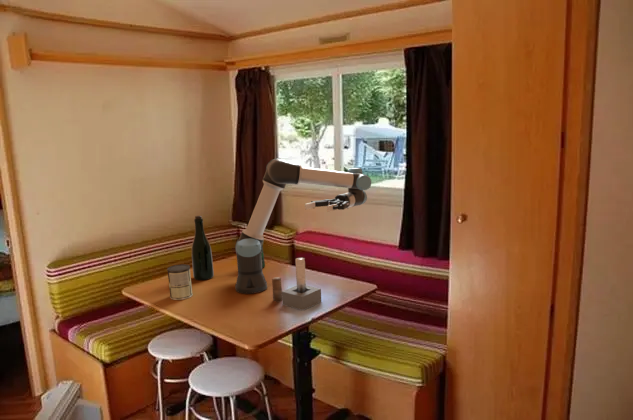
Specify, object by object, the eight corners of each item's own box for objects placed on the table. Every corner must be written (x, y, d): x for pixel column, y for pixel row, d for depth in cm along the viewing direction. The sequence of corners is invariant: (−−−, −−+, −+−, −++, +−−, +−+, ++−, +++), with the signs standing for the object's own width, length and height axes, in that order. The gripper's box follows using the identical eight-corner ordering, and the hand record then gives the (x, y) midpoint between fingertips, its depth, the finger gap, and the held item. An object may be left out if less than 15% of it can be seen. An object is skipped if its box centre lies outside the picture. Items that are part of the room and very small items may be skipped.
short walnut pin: (271, 300, 223) (270, 279, 221) (277, 297, 226) (276, 276, 224) (277, 302, 221) (276, 280, 219) (284, 299, 224) (282, 278, 222)
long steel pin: (295, 303, 218) (293, 259, 214) (301, 301, 221) (299, 257, 217) (302, 305, 215) (300, 260, 212) (308, 302, 218) (306, 258, 215)
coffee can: (166, 297, 235) (163, 268, 232) (185, 291, 242) (182, 263, 239) (177, 301, 227) (174, 272, 225) (196, 295, 234) (194, 266, 232)
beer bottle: (204, 273, 269) (199, 213, 263) (218, 276, 263) (212, 214, 257) (189, 279, 261) (183, 217, 255) (202, 281, 255) (197, 218, 249)
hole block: (282, 304, 217) (281, 291, 216) (301, 296, 226) (300, 284, 225) (303, 310, 209) (302, 296, 208) (321, 301, 218) (320, 288, 217)
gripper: (364, 210, 242) (337, 218, 226) (325, 206, 258) (297, 213, 243) (364, 195, 241) (337, 201, 225) (324, 192, 257) (296, 198, 241)
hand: (316, 207), depth 234 cm, fingers open, 13 cm apart
